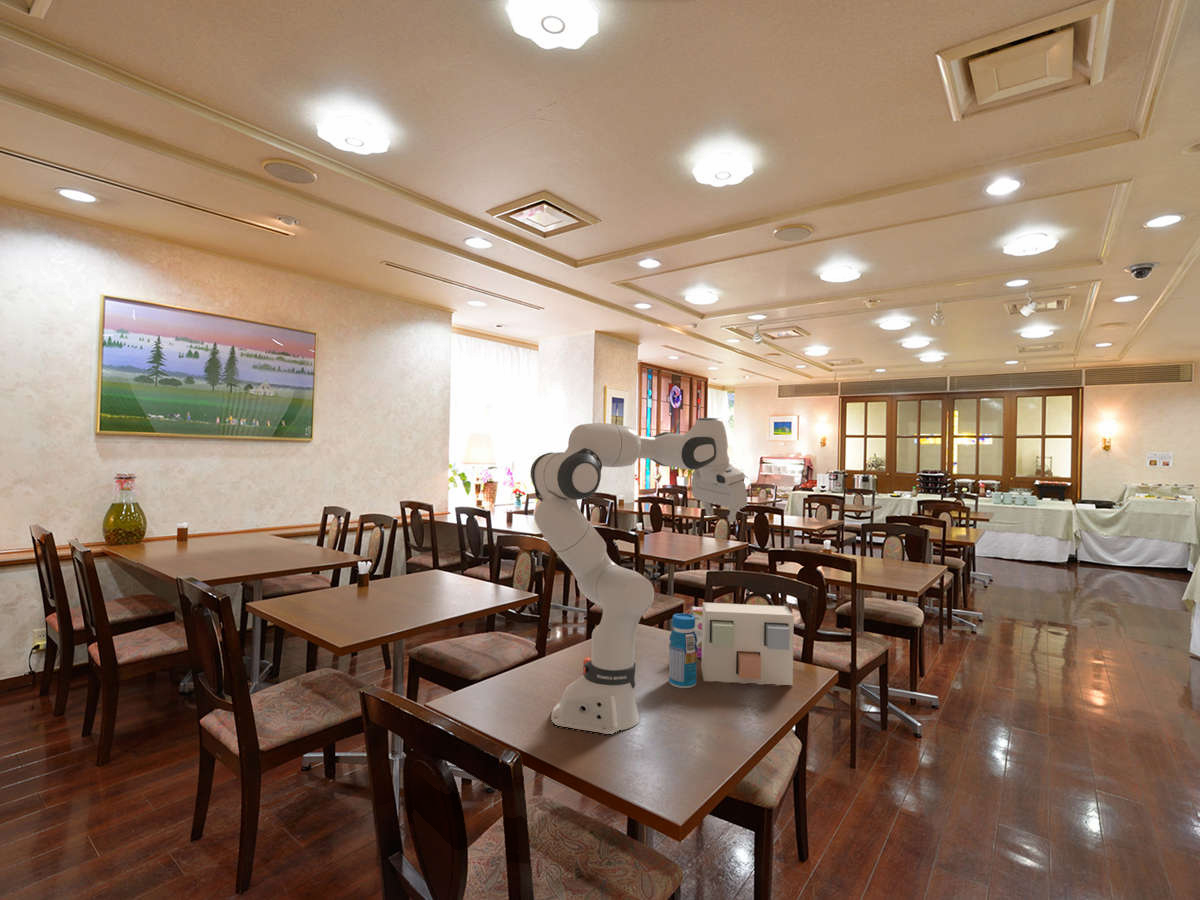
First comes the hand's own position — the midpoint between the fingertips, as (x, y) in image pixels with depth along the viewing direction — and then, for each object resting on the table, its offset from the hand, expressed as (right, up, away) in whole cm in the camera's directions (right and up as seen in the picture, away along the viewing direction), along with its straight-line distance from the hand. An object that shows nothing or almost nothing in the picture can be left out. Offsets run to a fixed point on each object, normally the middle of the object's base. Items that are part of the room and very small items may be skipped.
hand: (720, 517), depth 170 cm
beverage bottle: (-11, -50, +3) cm, 51 cm away
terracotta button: (+9, -47, +3) cm, 48 cm away
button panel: (+9, -50, +9) cm, 52 cm away
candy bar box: (+1, -50, +26) cm, 57 cm away
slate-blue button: (+17, -38, +2) cm, 42 cm away
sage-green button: (+1, -38, +4) cm, 38 cm away
